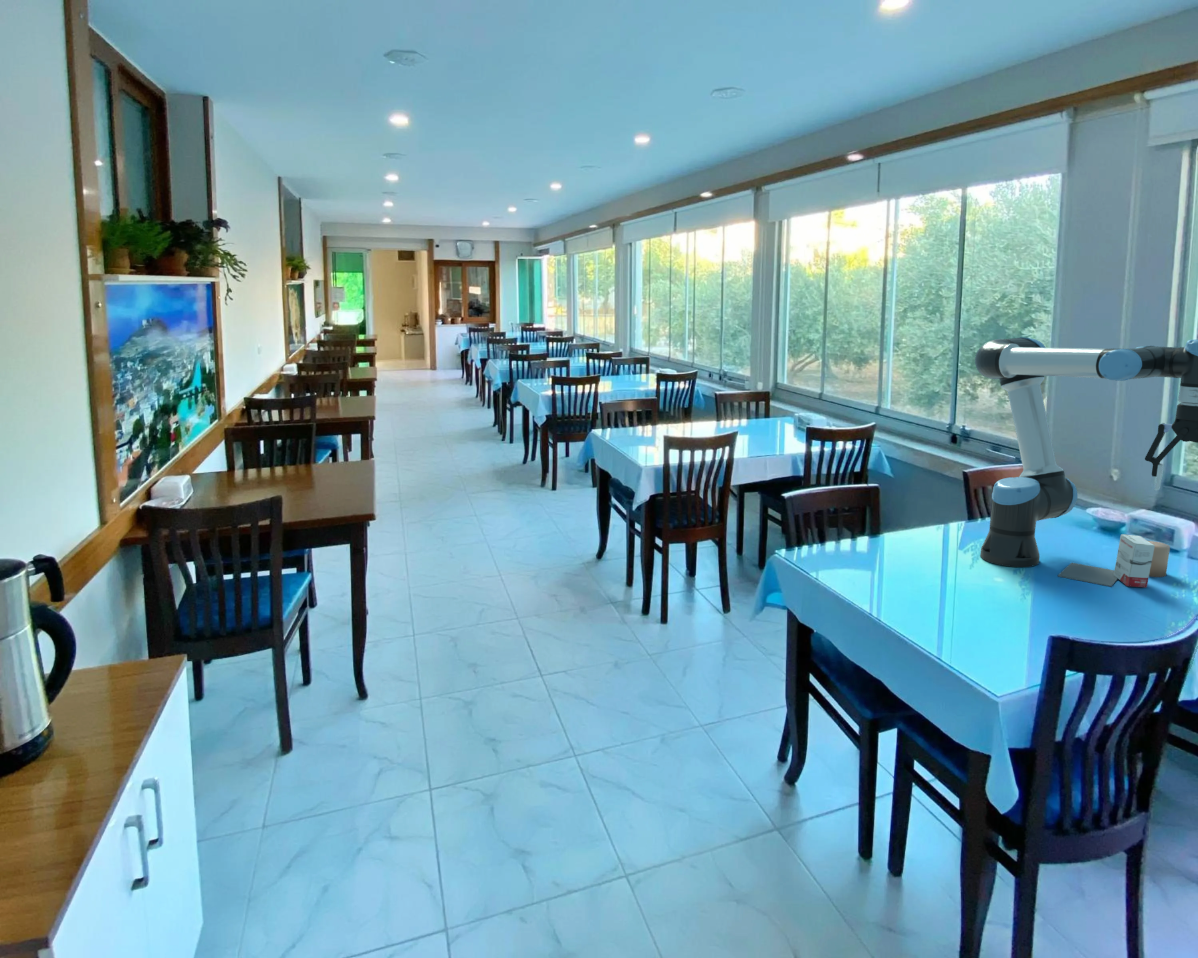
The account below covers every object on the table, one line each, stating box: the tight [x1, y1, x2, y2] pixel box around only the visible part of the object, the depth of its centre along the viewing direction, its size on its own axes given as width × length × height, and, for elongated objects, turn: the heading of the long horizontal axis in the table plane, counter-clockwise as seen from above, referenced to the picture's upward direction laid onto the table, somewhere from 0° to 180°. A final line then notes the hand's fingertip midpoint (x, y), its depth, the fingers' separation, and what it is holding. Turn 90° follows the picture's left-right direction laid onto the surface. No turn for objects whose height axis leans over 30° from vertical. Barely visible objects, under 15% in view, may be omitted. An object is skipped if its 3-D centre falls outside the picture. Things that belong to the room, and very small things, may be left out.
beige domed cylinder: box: [1147, 540, 1171, 578], centre depth 209 cm, size 7×7×8 cm
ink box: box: [1113, 533, 1155, 589], centre depth 201 cm, size 9×5×12 cm, turn 168°
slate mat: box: [1057, 562, 1119, 588], centre depth 209 cm, size 12×14×1 cm
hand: (1183, 492), depth 191 cm, fingers open, 10 cm apart
